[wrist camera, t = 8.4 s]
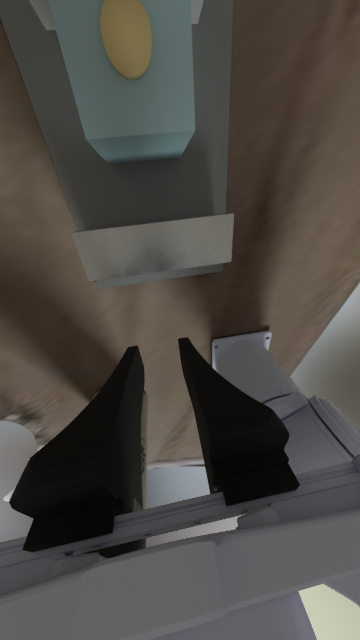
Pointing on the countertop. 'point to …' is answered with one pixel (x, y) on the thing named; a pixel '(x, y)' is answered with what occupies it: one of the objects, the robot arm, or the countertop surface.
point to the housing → (130, 74)
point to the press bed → (134, 177)
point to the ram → (155, 245)
